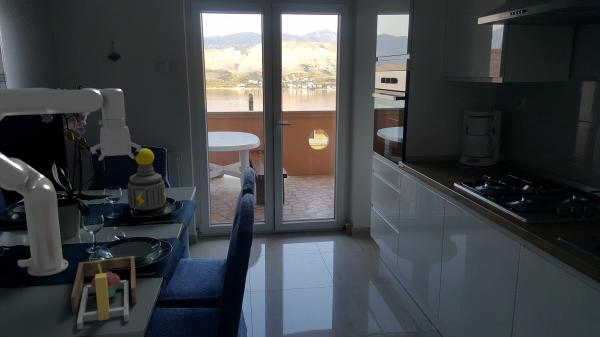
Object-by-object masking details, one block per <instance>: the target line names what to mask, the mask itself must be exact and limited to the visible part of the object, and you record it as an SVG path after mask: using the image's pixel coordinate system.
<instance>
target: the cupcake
mask: <svg viewBox="0 0 600 337" xmlns="http://www.w3.org/2000/svg"><path fill="white" fill-rule="evenodd" d="M98 268H99V272H100V274H102V270H101V266H100V264H99V262H98ZM106 275H107V287H108V299H110V298H112V297H114V296H115V295H116V292H117V291H116V290H117V289H116V288H117V286H118V285H119V284H120V283H121V277H120V276H119V275H118V274H117V273H112V272H106ZM93 277H94V278H92V279H91V282H90V285H91V287H92V289H94V290H96V285H95V276H93Z"/></svg>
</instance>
